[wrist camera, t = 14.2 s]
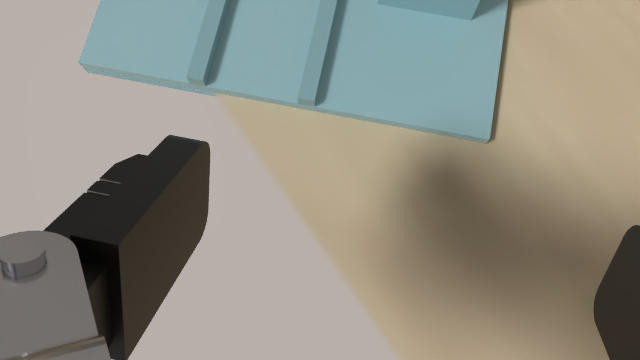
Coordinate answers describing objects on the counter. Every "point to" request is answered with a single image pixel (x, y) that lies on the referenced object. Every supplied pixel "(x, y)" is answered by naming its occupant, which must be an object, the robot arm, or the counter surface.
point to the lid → (316, 55)
